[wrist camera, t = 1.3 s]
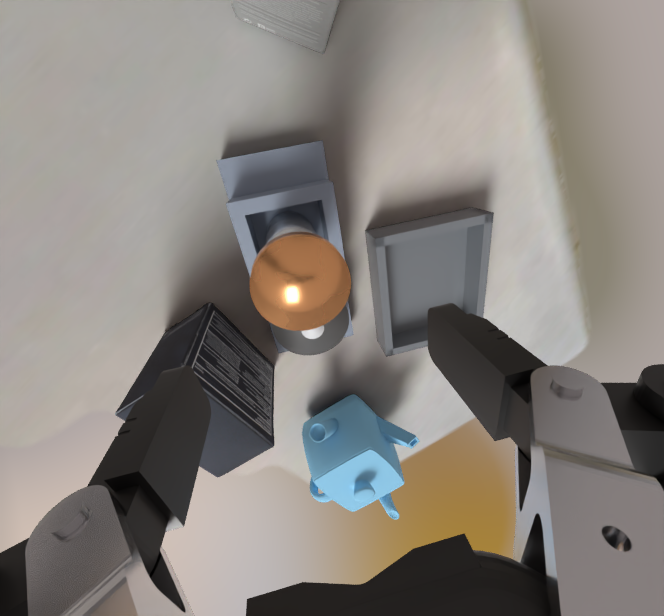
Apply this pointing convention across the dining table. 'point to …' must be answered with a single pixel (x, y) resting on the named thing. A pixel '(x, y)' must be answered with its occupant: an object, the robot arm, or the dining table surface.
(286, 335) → the block
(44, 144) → the dining table surface
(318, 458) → the teapot
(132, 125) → the dining table surface
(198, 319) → the small box
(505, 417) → the robot arm
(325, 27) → the skincare box
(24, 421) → the dining table surface
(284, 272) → the copper capped glass jar
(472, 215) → the tray
